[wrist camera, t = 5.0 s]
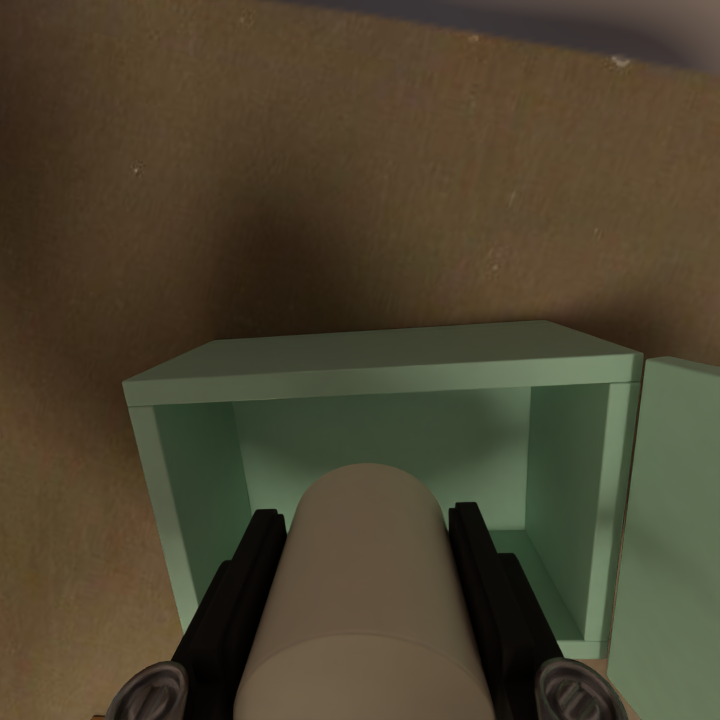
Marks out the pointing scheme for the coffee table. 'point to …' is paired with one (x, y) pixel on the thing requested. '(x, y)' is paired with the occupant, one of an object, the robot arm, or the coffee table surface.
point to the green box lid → (672, 550)
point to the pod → (365, 611)
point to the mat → (97, 718)
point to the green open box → (403, 445)
